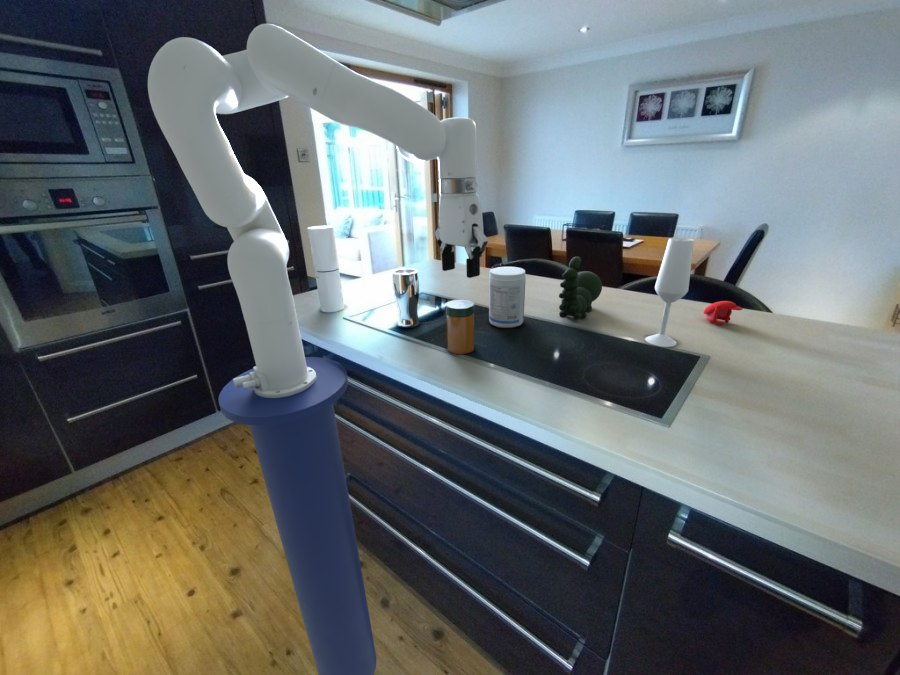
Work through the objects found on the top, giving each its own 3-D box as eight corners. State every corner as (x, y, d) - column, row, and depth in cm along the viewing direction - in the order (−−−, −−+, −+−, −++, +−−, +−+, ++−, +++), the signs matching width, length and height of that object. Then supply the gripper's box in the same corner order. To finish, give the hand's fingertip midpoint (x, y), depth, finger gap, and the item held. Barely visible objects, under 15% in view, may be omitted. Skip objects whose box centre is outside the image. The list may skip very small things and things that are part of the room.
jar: (458, 356, 88) (457, 312, 84) (442, 347, 93) (440, 305, 89) (479, 348, 92) (479, 306, 88) (462, 340, 97) (462, 300, 92)
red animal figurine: (701, 324, 102) (706, 302, 100) (701, 317, 107) (706, 296, 105) (738, 329, 98) (744, 306, 96) (736, 321, 103) (742, 300, 101)
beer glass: (400, 330, 104) (396, 275, 98) (393, 322, 110) (388, 270, 104) (424, 326, 107) (421, 272, 101) (416, 318, 112) (413, 267, 107)
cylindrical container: (335, 313, 119) (322, 229, 109) (316, 311, 121) (302, 228, 111) (348, 306, 125) (337, 225, 115) (330, 304, 127) (318, 225, 117)
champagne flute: (656, 348, 90) (677, 242, 80) (639, 336, 96) (657, 237, 86) (683, 345, 90) (707, 240, 81) (664, 334, 97) (684, 236, 87)
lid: (457, 319, 85) (457, 310, 84) (439, 311, 90) (439, 303, 89) (480, 312, 88) (480, 304, 87) (462, 305, 93) (462, 297, 92)
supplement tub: (499, 314, 113) (500, 264, 108) (529, 320, 108) (532, 268, 102) (482, 325, 106) (482, 272, 100) (513, 331, 101) (515, 276, 95)
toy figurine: (582, 334, 102) (605, 300, 120) (589, 264, 93) (612, 239, 112) (547, 328, 107) (574, 296, 125) (551, 261, 98) (579, 237, 116)
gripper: (501, 187, 74) (500, 277, 81) (447, 186, 87) (450, 264, 94) (471, 189, 70) (473, 283, 77) (419, 188, 83) (424, 269, 90)
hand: (460, 272), depth 85 cm, fingers open, 8 cm apart
